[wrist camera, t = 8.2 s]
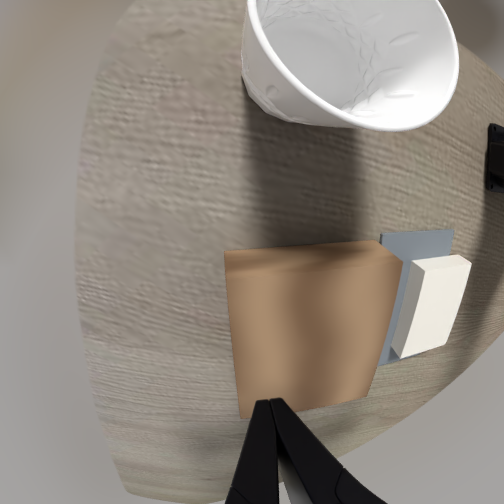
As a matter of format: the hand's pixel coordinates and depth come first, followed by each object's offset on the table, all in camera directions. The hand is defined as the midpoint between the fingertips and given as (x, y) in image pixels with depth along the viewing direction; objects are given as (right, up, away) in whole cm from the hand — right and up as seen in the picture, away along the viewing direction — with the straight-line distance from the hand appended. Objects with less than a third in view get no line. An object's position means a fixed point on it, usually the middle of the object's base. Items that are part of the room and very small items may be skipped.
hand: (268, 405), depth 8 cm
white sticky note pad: (+16, 0, +13) cm, 20 cm away
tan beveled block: (+3, -1, +14) cm, 14 cm away
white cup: (+2, +16, +7) cm, 18 cm away
